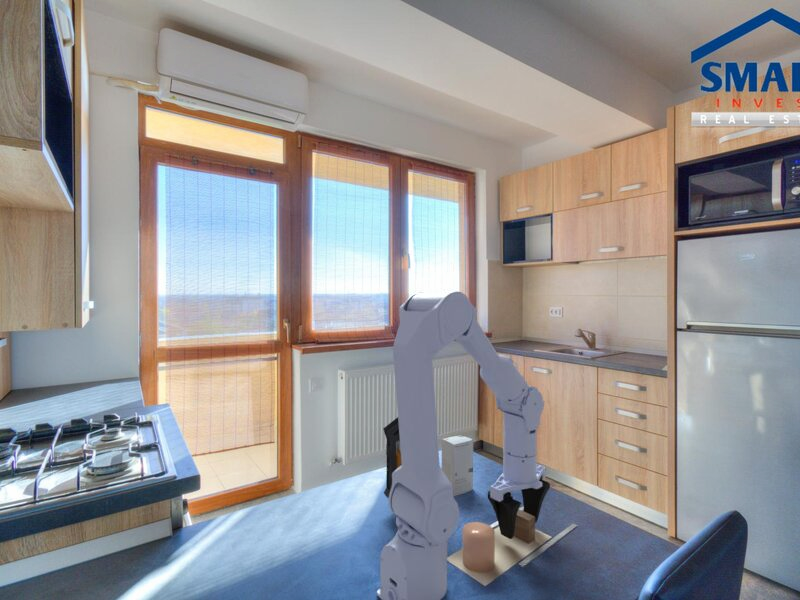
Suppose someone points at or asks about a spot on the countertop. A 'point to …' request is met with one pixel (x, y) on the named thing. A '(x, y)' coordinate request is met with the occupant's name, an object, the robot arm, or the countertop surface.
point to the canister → (392, 452)
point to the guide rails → (543, 545)
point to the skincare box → (458, 463)
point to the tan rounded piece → (478, 547)
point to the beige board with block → (507, 548)
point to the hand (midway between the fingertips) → (519, 527)
